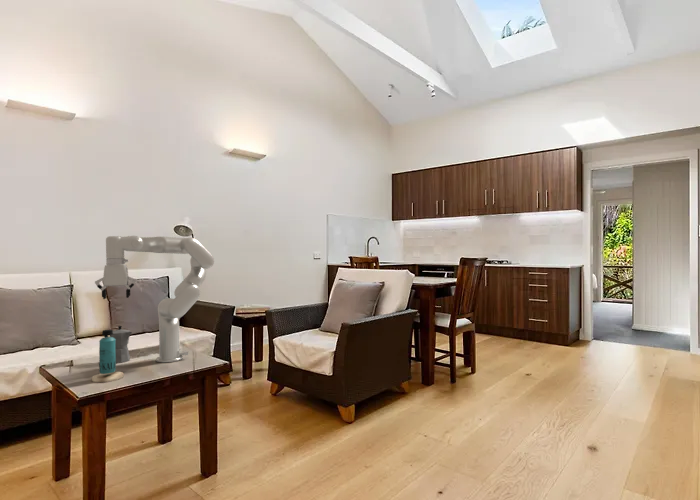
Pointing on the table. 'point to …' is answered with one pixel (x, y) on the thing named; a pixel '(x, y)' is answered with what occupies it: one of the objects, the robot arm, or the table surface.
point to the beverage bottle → (107, 353)
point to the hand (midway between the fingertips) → (116, 298)
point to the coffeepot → (121, 344)
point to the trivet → (107, 377)
